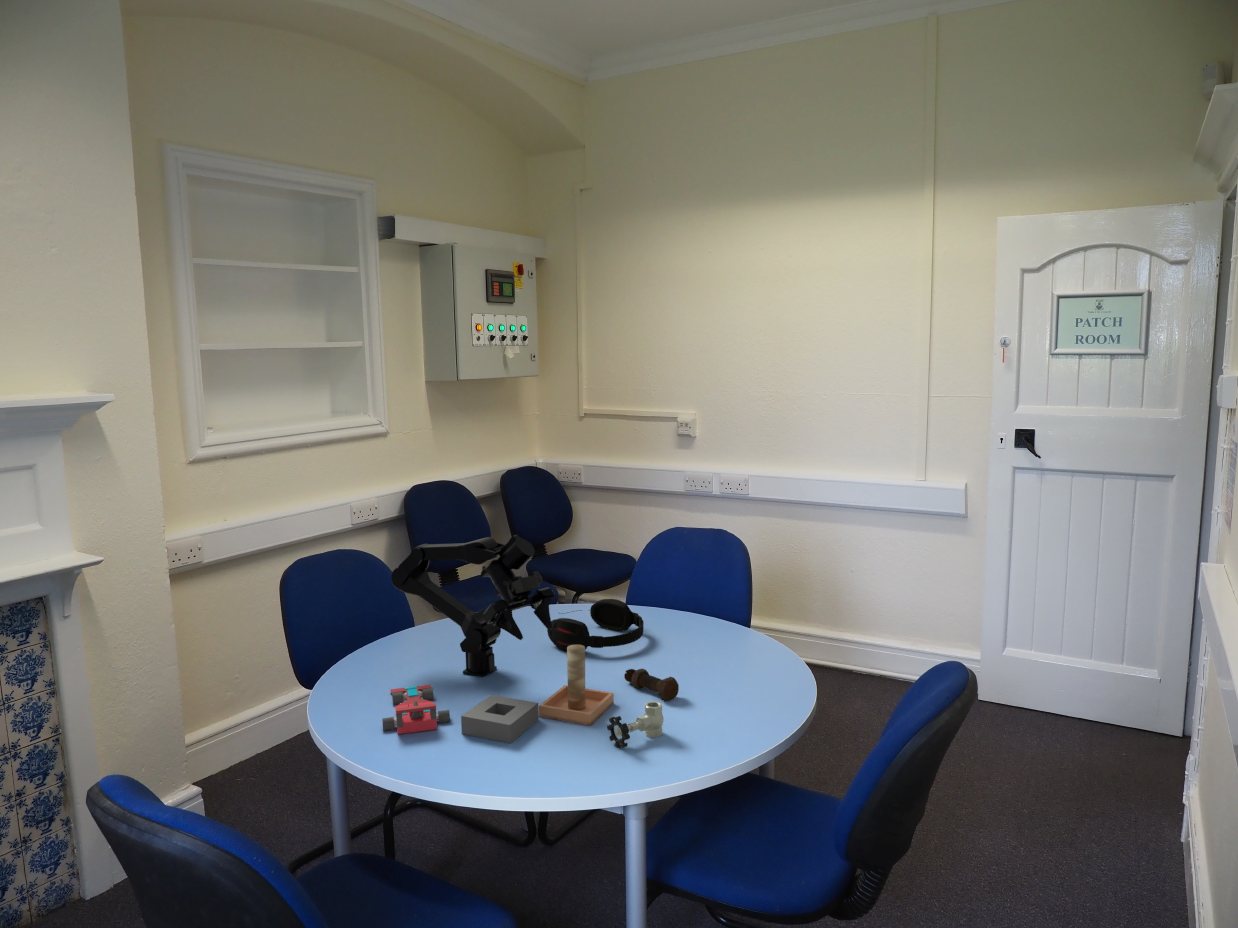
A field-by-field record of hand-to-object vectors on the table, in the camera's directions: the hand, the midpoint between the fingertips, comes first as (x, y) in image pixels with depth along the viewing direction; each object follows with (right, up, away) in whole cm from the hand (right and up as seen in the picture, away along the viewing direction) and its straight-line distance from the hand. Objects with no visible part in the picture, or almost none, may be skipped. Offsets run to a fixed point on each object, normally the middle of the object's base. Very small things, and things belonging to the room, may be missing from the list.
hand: (536, 634), depth 201 cm
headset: (+13, -9, +37) cm, 40 cm away
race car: (-27, -16, -9) cm, 33 cm away
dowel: (+10, -14, -11) cm, 21 cm away
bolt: (+27, -14, 0) cm, 30 cm away
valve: (+24, -17, -25) cm, 39 cm away
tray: (+10, -15, -11) cm, 21 cm away
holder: (-6, -16, -19) cm, 26 cm away
